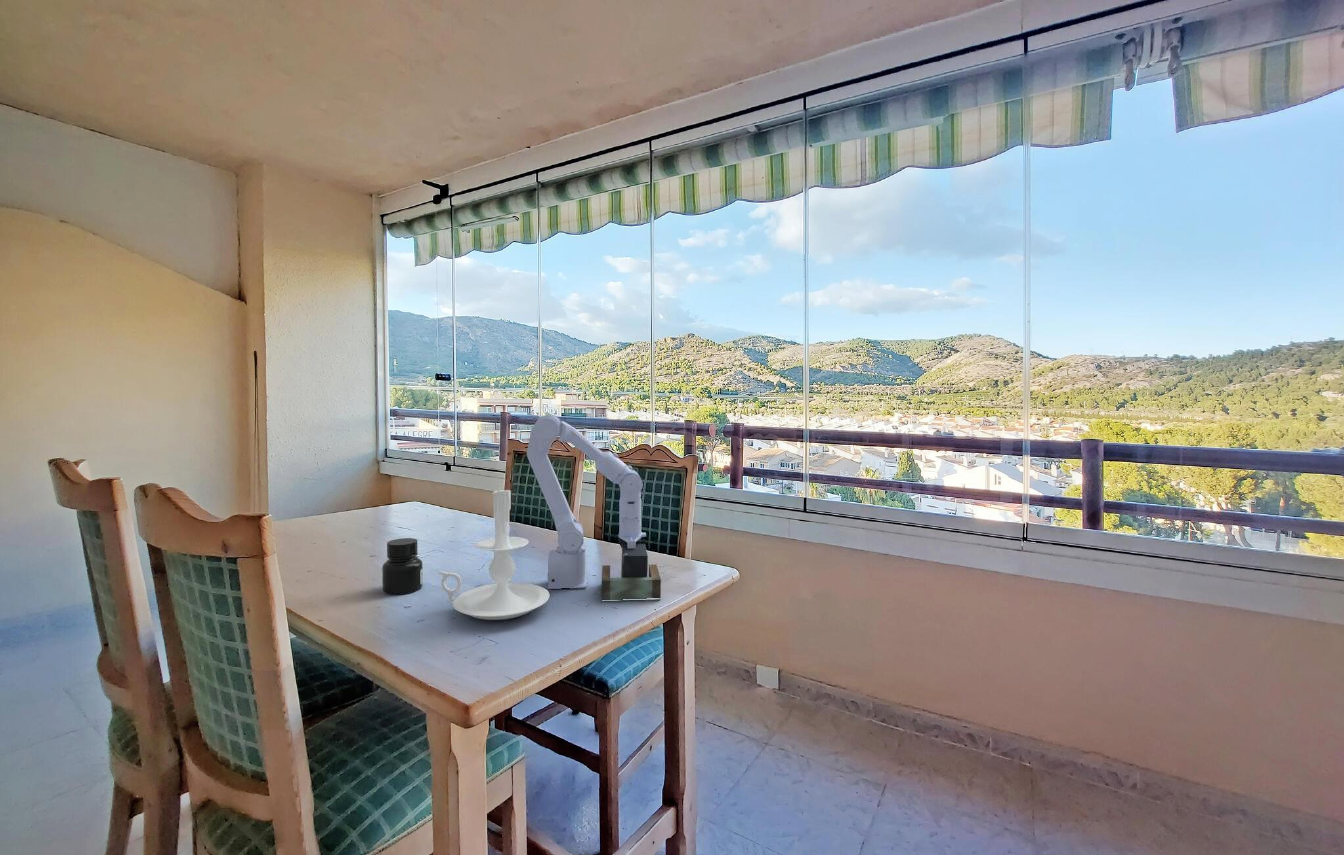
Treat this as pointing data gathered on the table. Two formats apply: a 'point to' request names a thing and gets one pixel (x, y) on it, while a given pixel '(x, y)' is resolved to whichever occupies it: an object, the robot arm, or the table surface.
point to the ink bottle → (402, 567)
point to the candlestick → (498, 575)
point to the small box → (634, 561)
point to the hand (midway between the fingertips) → (630, 568)
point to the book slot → (631, 585)
